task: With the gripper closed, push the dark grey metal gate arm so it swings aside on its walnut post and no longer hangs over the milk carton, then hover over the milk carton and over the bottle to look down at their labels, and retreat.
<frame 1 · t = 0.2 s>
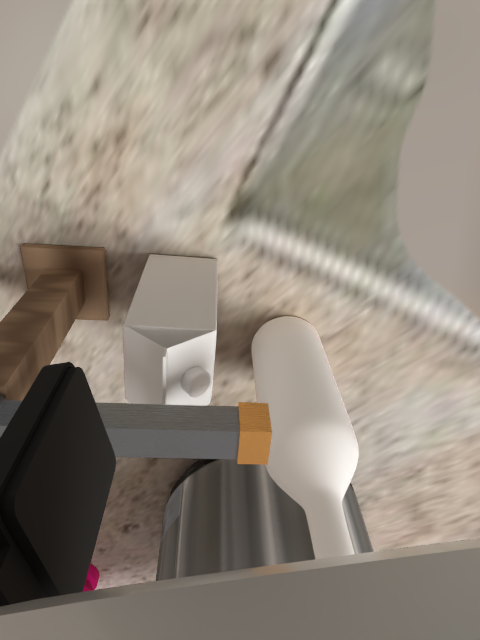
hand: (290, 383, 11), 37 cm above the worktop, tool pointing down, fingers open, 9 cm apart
gate arm: (104, 429, 30), point 22 cm above the worktop, hinge at 0.0°
milk carton: (182, 285, 50), on the worktop
gate post: (68, 281, 49), on the worktop
bottle: (285, 344, 54), on the worktop
pressure cooker: (263, 501, 67), on the worktop
pepper mill: (79, 571, 73), on the worktop
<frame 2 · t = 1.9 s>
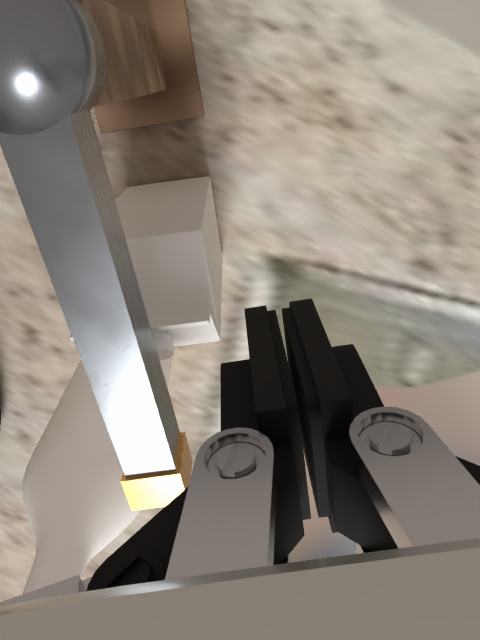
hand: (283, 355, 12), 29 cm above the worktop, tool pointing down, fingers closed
gate arm: (102, 296, 18), point 22 cm above the worktop, hinge at 0.0°
milk carton: (176, 222, 40), on the worktop
gate post: (141, 65, 34), on the worktop
bottle: (133, 349, 46), on the worktop
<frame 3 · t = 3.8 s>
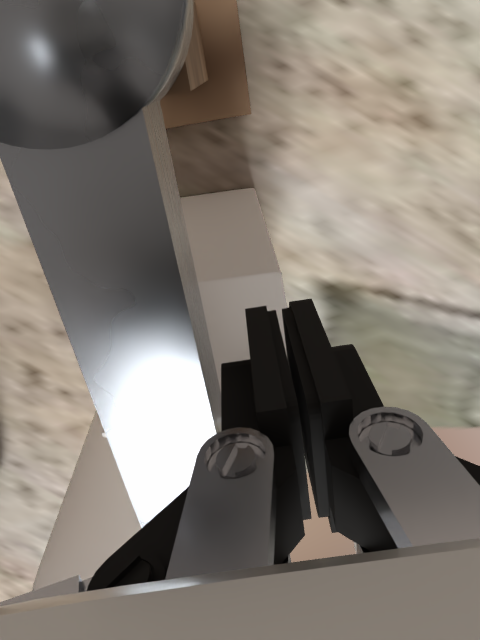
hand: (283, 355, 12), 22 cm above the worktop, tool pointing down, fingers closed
gate arm: (168, 405, 11), point 22 cm above the worktop, hinge at -0.4°, touching gripper
milk carton: (210, 242, 33), on the worktop
gate post: (173, 50, 27), on the worktop
bottle: (155, 390, 39), on the worktop
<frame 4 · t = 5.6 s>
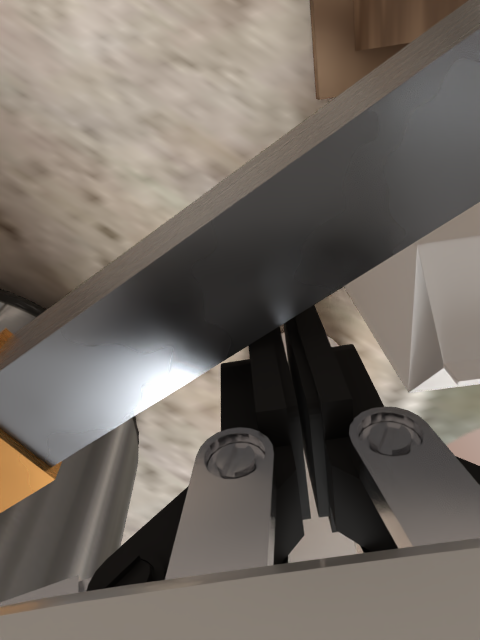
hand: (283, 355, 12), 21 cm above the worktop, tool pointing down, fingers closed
gate arm: (356, 176, 9), point 22 cm above the worktop, hinge at -63.8°, touching gripper
milk carton: (380, 214, 32), on the worktop
gate post: (380, 10, 26), on the worktop
bottle: (297, 369, 38), on the worktop
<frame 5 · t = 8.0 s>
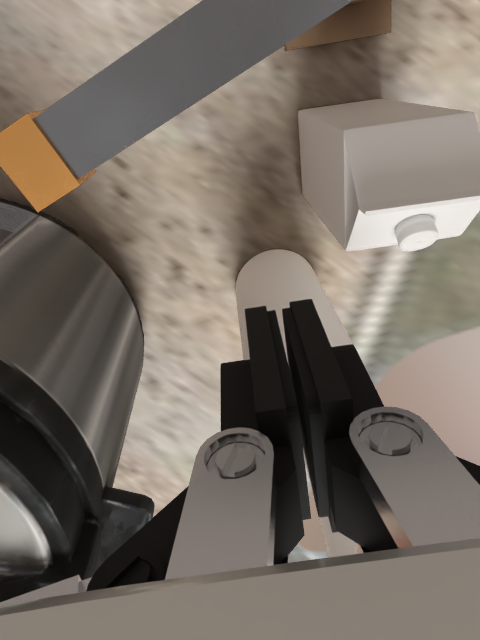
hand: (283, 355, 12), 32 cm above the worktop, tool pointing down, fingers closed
gate arm: (264, 11, 16), point 22 cm above the worktop, hinge at -68.8°
milk carton: (339, 148, 40), on the worktop
bottle: (275, 286, 46), on the worktop
pressure cooker: (10, 329, 46), on the worktop
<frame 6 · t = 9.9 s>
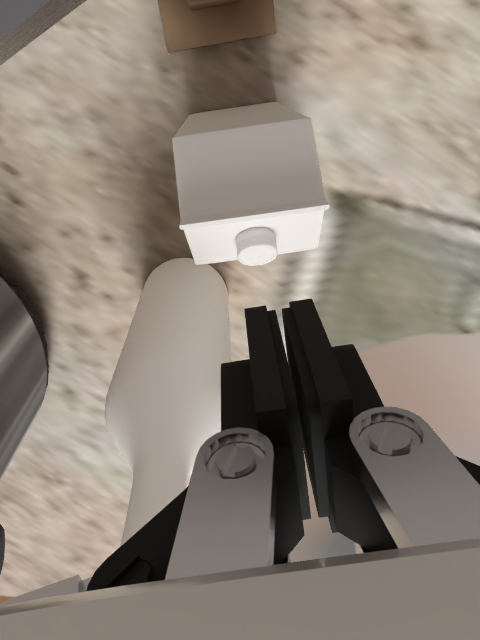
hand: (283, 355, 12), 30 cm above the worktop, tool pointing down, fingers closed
milk carton: (238, 153, 38), on the worktop
bottle: (186, 295, 44), on the worktop
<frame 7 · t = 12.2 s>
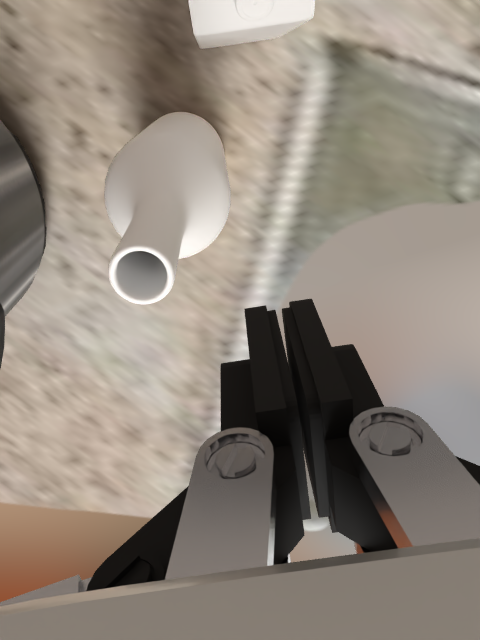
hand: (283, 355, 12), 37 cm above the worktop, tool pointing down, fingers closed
bottle: (183, 156, 45), on the worktop
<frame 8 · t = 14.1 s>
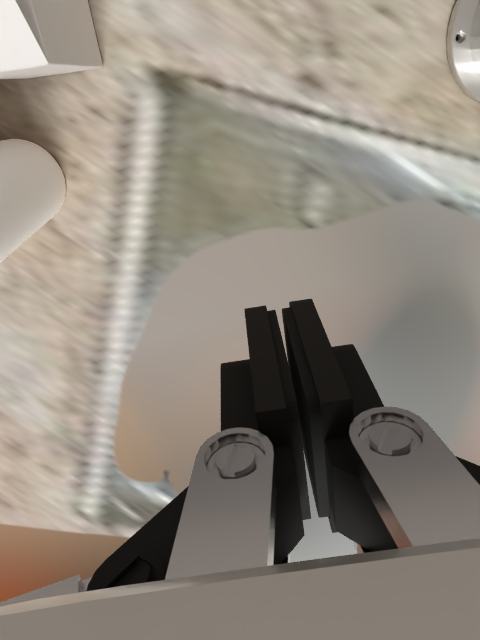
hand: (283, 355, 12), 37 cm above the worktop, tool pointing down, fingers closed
milk carton: (53, 26, 39), on the worktop
bottle: (25, 181, 45), on the worktop
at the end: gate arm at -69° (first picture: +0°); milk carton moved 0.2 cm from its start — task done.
